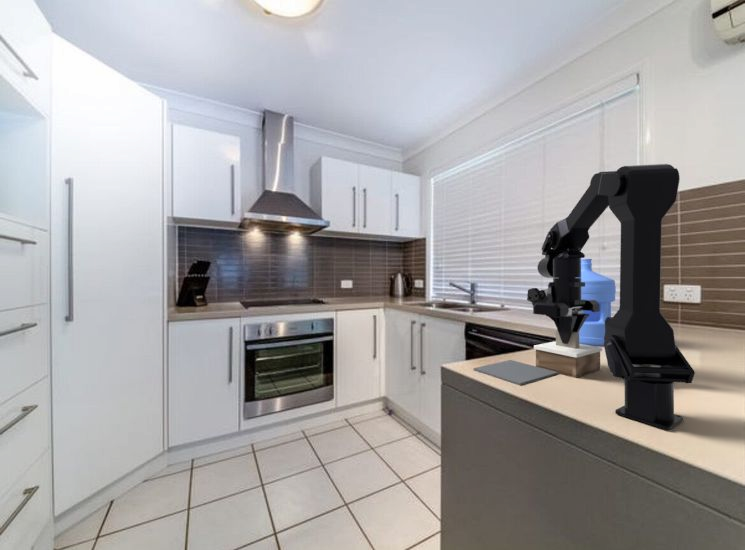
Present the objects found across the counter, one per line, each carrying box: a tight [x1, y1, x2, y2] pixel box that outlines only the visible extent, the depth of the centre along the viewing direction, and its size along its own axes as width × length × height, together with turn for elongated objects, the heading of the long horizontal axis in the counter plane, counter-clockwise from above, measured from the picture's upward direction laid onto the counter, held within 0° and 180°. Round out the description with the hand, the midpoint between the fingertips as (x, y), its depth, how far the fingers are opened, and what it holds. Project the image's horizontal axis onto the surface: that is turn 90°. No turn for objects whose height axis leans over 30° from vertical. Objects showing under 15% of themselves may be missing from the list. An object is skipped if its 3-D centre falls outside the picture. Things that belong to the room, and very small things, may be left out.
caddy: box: [535, 349, 601, 378], centre depth 73 cm, size 11×9×4 cm
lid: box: [533, 329, 603, 358], centre depth 73 cm, size 12×10×6 cm
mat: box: [473, 359, 559, 386], centre depth 71 cm, size 14×12×1 cm
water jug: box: [579, 258, 617, 347], centre depth 104 cm, size 16×16×28 cm
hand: (567, 343), depth 73 cm, fingers closed on lid
